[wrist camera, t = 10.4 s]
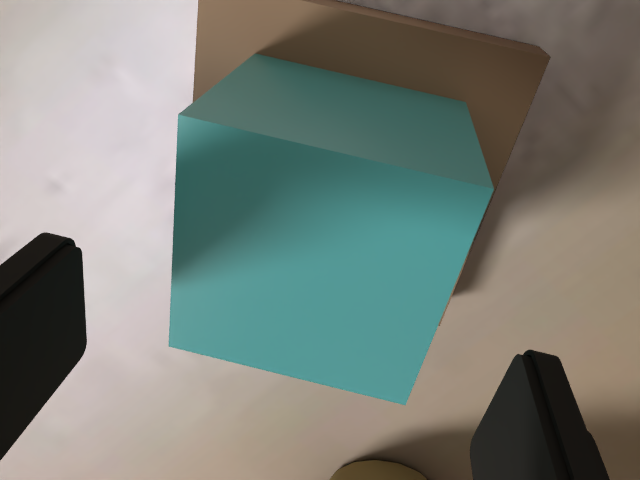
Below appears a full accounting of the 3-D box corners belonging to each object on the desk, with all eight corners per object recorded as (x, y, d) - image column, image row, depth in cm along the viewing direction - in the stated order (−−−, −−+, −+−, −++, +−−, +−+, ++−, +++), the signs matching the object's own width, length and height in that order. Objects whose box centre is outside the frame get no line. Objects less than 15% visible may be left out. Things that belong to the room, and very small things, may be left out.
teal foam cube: (406, 274, 19) (405, 405, 13) (233, 233, 19) (168, 346, 14) (465, 102, 15) (494, 188, 10) (254, 53, 15) (178, 114, 10)
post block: (437, 301, 21) (445, 409, 16) (197, 243, 21) (137, 332, 16) (538, 46, 16) (594, 97, 11) (216, -27, 16) (135, -9, 11)
